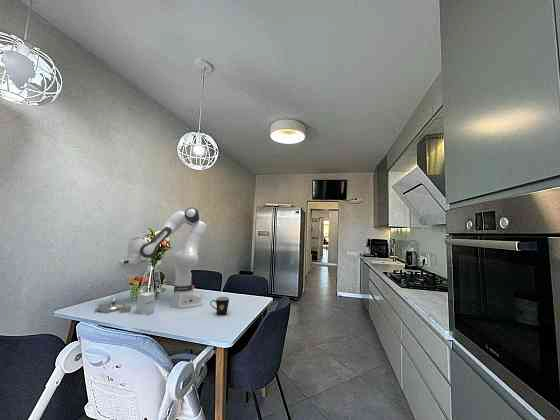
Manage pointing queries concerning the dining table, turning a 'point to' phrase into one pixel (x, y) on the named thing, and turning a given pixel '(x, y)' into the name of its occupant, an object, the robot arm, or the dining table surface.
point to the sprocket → (110, 307)
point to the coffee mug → (221, 305)
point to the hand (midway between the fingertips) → (131, 279)
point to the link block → (125, 309)
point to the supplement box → (145, 303)
